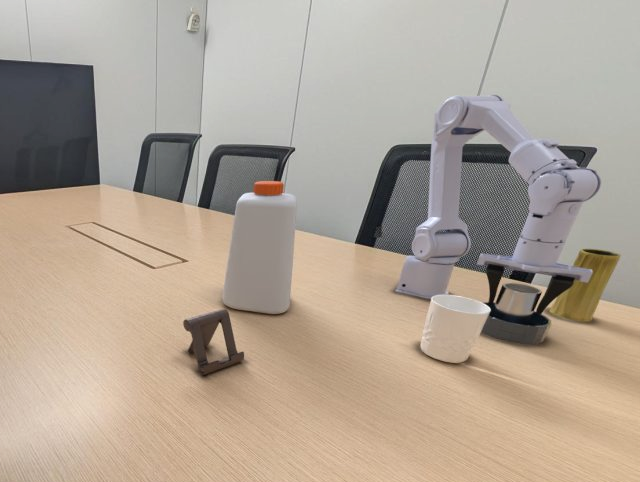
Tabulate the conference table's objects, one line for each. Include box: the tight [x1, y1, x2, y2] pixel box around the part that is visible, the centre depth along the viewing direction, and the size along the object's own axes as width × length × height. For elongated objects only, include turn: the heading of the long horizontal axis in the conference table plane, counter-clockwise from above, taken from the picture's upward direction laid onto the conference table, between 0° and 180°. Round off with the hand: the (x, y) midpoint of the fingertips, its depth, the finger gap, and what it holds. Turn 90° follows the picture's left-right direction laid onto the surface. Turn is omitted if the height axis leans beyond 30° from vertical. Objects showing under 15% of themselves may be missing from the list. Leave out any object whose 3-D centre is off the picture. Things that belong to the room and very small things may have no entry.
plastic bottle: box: [221, 180, 298, 315], centre depth 86 cm, size 15×15×28 cm
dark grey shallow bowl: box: [480, 301, 552, 345], centre depth 74 cm, size 11×11×4 cm
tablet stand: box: [182, 308, 245, 376], centre depth 66 cm, size 9×8×8 cm
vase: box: [549, 248, 622, 322], centre depth 77 cm, size 6×6×14 cm
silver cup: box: [490, 282, 543, 325], centre depth 73 cm, size 5×5×9 cm
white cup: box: [419, 294, 491, 364], centre depth 66 cm, size 8×8×10 cm
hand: (514, 307), depth 72 cm, fingers open, 6 cm apart
